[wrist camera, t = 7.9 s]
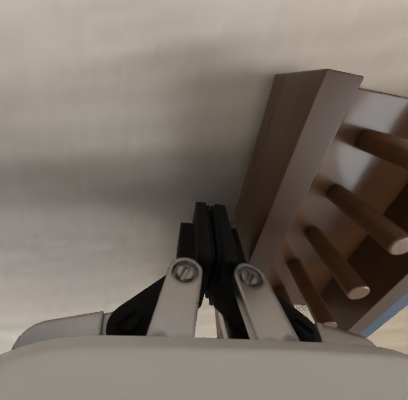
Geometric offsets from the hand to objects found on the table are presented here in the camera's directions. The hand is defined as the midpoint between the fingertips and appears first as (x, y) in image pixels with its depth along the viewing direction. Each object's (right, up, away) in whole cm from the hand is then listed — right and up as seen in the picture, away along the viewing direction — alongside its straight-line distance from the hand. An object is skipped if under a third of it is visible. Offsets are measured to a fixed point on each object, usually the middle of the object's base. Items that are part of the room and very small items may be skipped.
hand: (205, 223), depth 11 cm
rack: (+7, 0, +2) cm, 7 cm away
